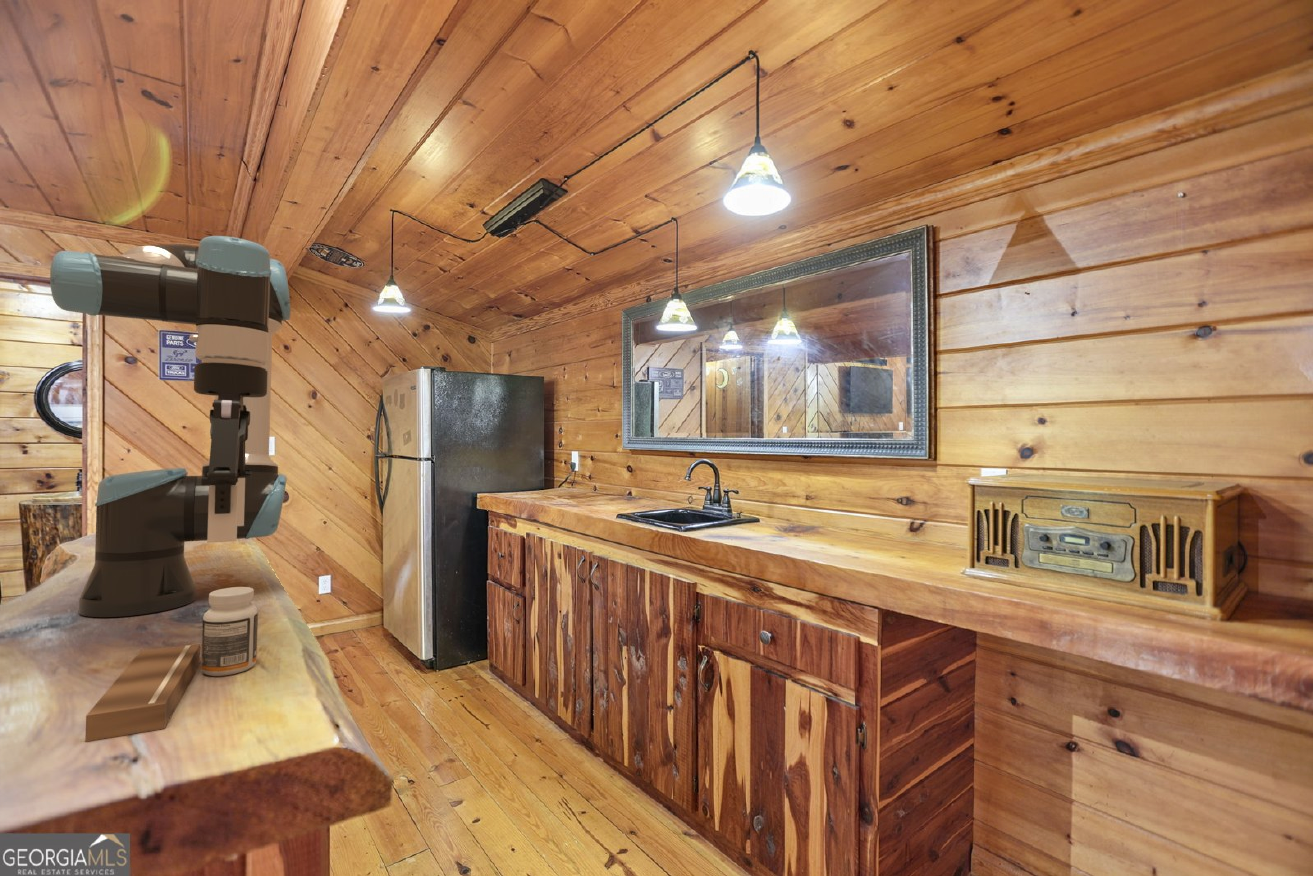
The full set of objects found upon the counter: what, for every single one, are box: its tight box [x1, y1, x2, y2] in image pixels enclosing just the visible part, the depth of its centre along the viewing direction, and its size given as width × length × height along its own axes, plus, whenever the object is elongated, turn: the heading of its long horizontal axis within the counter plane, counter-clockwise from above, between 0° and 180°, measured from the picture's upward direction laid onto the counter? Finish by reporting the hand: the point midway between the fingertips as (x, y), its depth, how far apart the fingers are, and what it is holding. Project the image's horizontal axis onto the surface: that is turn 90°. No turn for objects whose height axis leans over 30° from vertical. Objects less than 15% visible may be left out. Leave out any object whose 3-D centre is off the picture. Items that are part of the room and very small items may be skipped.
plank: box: [84, 643, 202, 743], centre depth 68 cm, size 20×6×3 cm, turn 29°
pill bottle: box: [201, 586, 259, 677], centre depth 76 cm, size 6×6×10 cm
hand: (227, 533), depth 75 cm, fingers open, 13 cm apart
